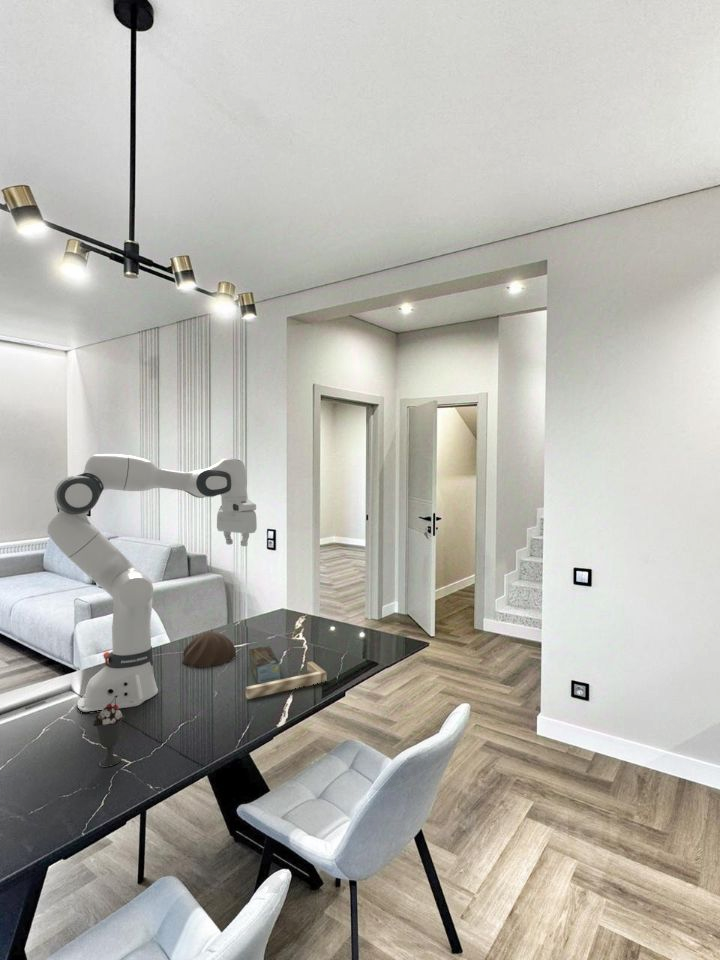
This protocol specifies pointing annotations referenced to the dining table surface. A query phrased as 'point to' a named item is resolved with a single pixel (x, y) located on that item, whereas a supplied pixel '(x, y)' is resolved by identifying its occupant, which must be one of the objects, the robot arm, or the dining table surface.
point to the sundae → (109, 731)
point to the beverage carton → (264, 664)
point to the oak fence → (288, 682)
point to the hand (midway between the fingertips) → (236, 545)
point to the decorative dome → (209, 650)
